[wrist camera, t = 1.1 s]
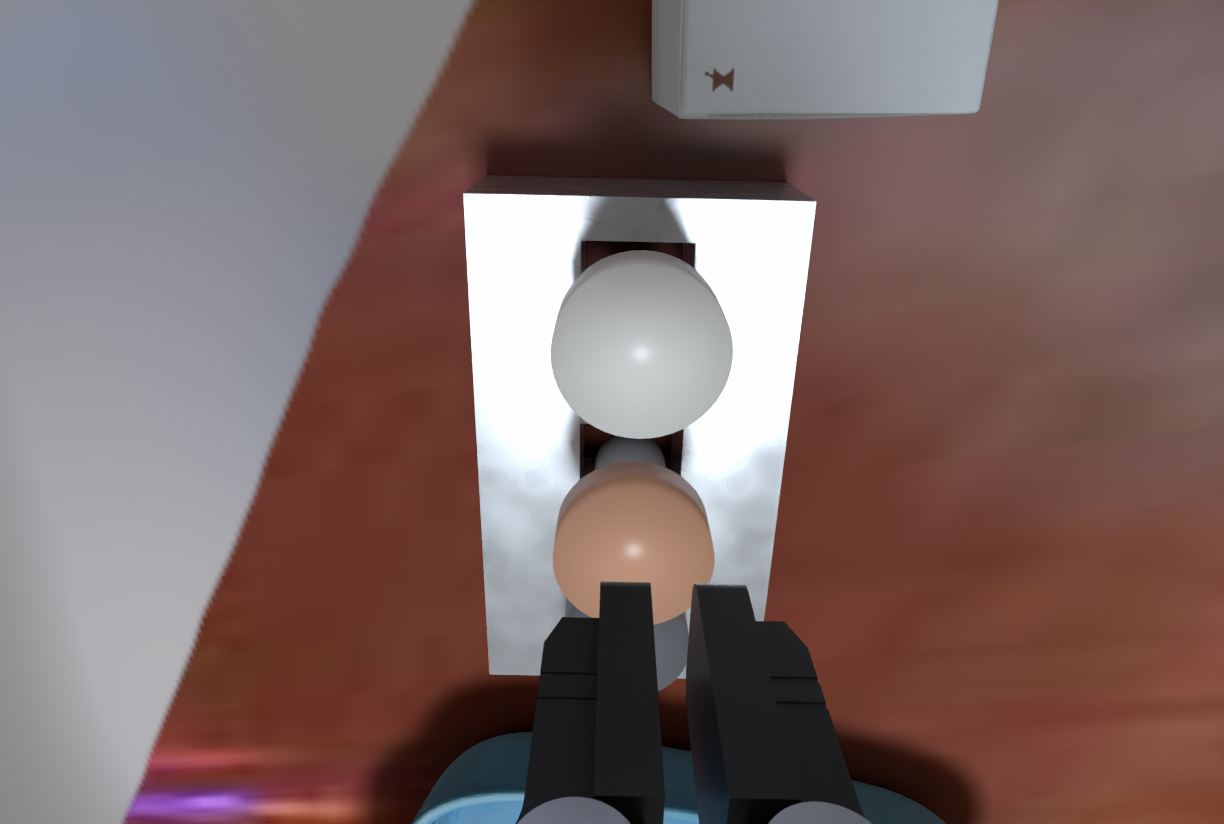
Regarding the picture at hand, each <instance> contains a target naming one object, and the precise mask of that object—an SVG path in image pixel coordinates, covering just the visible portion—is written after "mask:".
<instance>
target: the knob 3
mask: <svg viewBox="0 0 1224 824" xmlns="http://www.w3.org/2000/svg"><path fill="white" fill-rule="evenodd" d="M565 617H579V618H591V617H590V616H588V615H586V614H584V613H583V612H581V611H580V610H579V609H577V608H576V607H575V606H574V605H573V604H572V603H571V602H570V601H569V600H568V601H567V604H566V608H565ZM688 638H689V633H688V625H687V617H686V611H685V612H683V613H682V614H680V615H679V616H677V617H675V618H673V619H671V620H668V621H665V622H663V623H659V624H655V625H654V639H655V654H656V668H657V683H658V691H660V690H662V689H664V688H665V687H667V686H668V685H670V684H671V683H672V682H673V681H675V680H676V678H677V677H678V676H679V675H680V674H681V673H682V671H683V670H684V668H685V666H686V664H687V651H688Z"/></svg>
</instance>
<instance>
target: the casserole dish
mask: <svg viewBox="0 0 1224 824" xmlns="http://www.w3.org/2000/svg"><path fill="white" fill-rule="evenodd" d="M531 740H532V732H520V733H511V734H505V735H500V736H496V737H493V738H490V739H487V740H485V741H482V742H480V743H478V744H476V745H474V746H473V747H471V748H470V749H468V750H467V751H465V752H464V753H463V754H461V755H460V756H459V757H458V758H457V759H456V760H455V761H454V762H452V764H451V765H450V766H449V767H448V768H447V769H446V770H445V772H444V773H443V774H442V775H441V777H440V778H439V780H438V781H437V782H436V784H435V785H434V787H433V788H432V790H431V792H430V793H429V795H428V797H427V798H426V800H425V802H424V803H423V805H422V807H421V808H420V810H419V812H418V813H417V815H416V817H415V818H414V820H413V822H412V823H411V824H515V823H516V822H517V820H518V817H519V815H520V812H521V810H522V806H523V801H524V795H525V787H526V779H527V772H528V764H529V756H530V748H531ZM662 758H663V773H664V788H665V806H664V820H663V824H699V818H698V809H697V800H696V791H695V782H694V773H693V763H692V754H691V751H686V750H680V749H674V748H669V747H663V746H662ZM852 783H853V786H854V789H855V792H856V795H857V798H858V801H859V804H860V807H861V809H862V812H863V814H864V816H865V818H866V819H867V820H868V821H870V822H871V823H872V824H946V823H945V822H944V821H943V820H942V819H940V818H939V817H938V816H937V815H935V814H934V813H932V812H931V811H930V810H928V809H927V808H925V807H924V806H922V805H921V804H919V803H917V802H915V801H913V800H911V799H909V798H907V797H905V796H903V795H900V794H898V793H895V792H893V791H890V790H887V789H884V788H881V787H877V786H873V785H870V784H866V783H862V782H858V781H854V780H852Z"/></svg>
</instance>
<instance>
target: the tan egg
mask: <svg viewBox="0 0 1224 824" xmlns="http://www.w3.org/2000/svg"><path fill="white" fill-rule="evenodd" d="M552 561H553V570H554V574H555V578H556V581H557V583H558V585H559V587H560V589H561V591H562V592H563V594H564V595H565V596H566V598H567V599H568V600H569V601H570V602H571V603H572V604H573V605H574V606H575V607H576V608H577V609H579V610H580V611H581V612H583V613H584V614H586V615H588V616H590V617H591V618H599V608H600V581H604V582H650V583H651V594H652V609H653V624H654V625H655V624H659V623H663V622H665V621H668V620H671V619H673V618H675V617H677V616H679V615H680V614H682V613H683V612H685V611H686V610H688V609H689V608H690V607H691V600H692V590H693V585H694V583H702V584H709V583H710V580H711V577H712V574H713V570H714V562H715V554H714V548H713V542H712V537H711V533H710V528H709V523H708V518H707V513H706V510H705V507H704V504H703V502H702V500H701V498H700V496H699V495H698V493H697V492H696V490H695V489H694V488H693V487H692V486H691V485H690V483H689V482H687V481H686V480H685V479H684V478H683V477H681V476H680V475H678V474H677V473H675V472H673V471H671V470H669V469H667V468H666V466H665V459H664V455H663V452H662V450H661V449H660V447H659V446H658V445H657V444H656V443H655V442H654V441H653V440H651V439H650V438H646V439H635V438H625V437H620V436H615V437H613V438H611V439H609V440H608V441H607V442H605V443H604V444H603V445H602V447H601V448H600V450H599V451H598V454H597V456H596V460H595V470H594V471H593V472H591V473H589V474H587V475H586V476H585V477H583V478H582V479H581V480H579V481H578V482H577V483H576V484H575V485H574V486H573V487H572V488H571V490H570V491H569V492H568V493H567V495H566V497H565V498H564V500H563V502H562V505H561V507H560V510H559V514H558V518H557V526H556V533H555V541H554V549H553V560H552Z"/></svg>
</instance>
